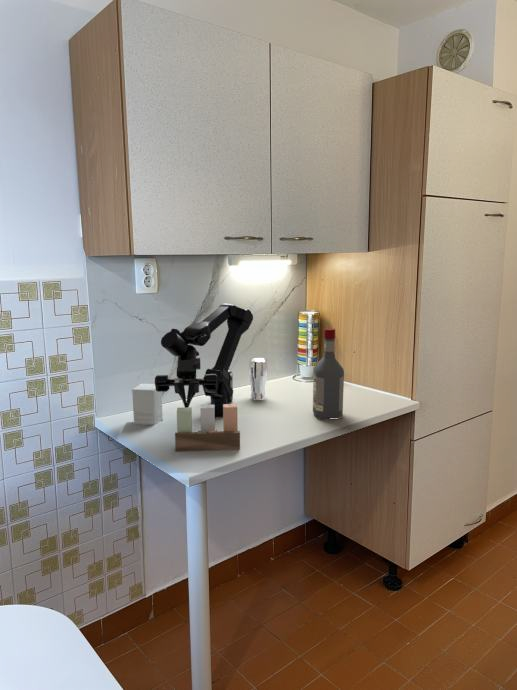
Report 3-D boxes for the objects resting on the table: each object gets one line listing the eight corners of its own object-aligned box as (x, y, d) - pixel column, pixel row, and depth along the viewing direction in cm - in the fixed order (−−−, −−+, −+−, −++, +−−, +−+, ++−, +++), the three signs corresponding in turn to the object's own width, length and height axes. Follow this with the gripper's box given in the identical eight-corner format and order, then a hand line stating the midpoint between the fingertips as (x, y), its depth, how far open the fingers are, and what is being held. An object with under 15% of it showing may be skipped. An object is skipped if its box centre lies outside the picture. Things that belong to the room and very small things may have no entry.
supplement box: (163, 421, 178) (162, 384, 176) (154, 428, 171) (153, 390, 169) (142, 419, 180) (141, 382, 177) (133, 426, 173) (131, 388, 170)
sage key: (178, 444, 155) (177, 407, 153) (192, 443, 155) (191, 407, 153) (177, 448, 152) (176, 410, 150) (192, 447, 152) (191, 410, 150)
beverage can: (211, 401, 200) (211, 370, 198) (224, 398, 205) (224, 367, 202) (223, 405, 195) (222, 373, 193) (236, 401, 200) (236, 370, 198)
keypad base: (177, 443, 158) (176, 423, 157) (238, 442, 160) (238, 421, 158) (175, 455, 150) (174, 433, 149) (240, 453, 151) (240, 431, 150)
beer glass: (261, 395, 209) (261, 357, 206) (270, 399, 203) (271, 360, 200) (245, 397, 205) (245, 359, 202) (254, 402, 199) (254, 362, 196)
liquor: (336, 411, 189) (339, 326, 184) (344, 419, 180) (347, 331, 175) (311, 411, 188) (313, 327, 182) (317, 420, 179) (319, 331, 174)
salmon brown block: (223, 440, 158) (223, 404, 156) (237, 439, 158) (236, 404, 156) (223, 444, 155) (223, 407, 153) (237, 443, 155) (237, 407, 153)
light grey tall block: (201, 440, 158) (200, 404, 155) (214, 440, 158) (214, 404, 156) (201, 444, 155) (200, 407, 153) (215, 444, 155) (214, 407, 153)
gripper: (154, 349, 159) (151, 395, 151) (217, 347, 161) (218, 393, 152) (157, 368, 169) (155, 413, 160) (217, 367, 170) (218, 411, 162)
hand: (186, 407), depth 158 cm, fingers closed
